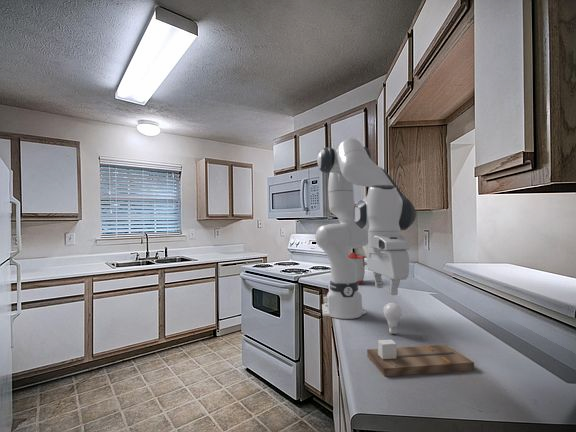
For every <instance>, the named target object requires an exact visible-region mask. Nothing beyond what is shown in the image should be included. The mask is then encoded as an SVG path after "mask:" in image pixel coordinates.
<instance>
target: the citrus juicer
mask: <svg viewBox="0 0 576 432" xmlns="http://www.w3.org/2000/svg"><path fill="white" fill-rule="evenodd" d="M348 257H349V258H351V259H352V260H354V261H355V263H356V265H357V281H358V285H361V284H363V282H364V280H365V279H364V278H365V272H366V271H365V269H366V267H365V266H367V261H365V256H363V255H357V254H356V253H355V252H350V254H349V255H348Z"/></svg>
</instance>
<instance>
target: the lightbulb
mask: <svg viewBox="0 0 576 432" xmlns="http://www.w3.org/2000/svg"><path fill="white" fill-rule="evenodd" d="M382 312H383V313H382V314H383V316H384V318H385V319H386V322H387V325H388V332H389V334H391V335H396V334H398V328H397V327H398V322H399V321H400V320H401V318H402V315H403V312H402V307H401V306H400V305H399V303H396V302H391V301H390V302H388V303H386V304H385V305H384V306H383V308H382Z"/></svg>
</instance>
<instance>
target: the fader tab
mask: <svg viewBox="0 0 576 432" xmlns="http://www.w3.org/2000/svg"><path fill="white" fill-rule="evenodd" d="M396 348H397V343H396V342H395V341H394V340H393V339H379V340H377V349H378V355H379V356H380V357H381V358H382V359H395V358H397V357H396Z"/></svg>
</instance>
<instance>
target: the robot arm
mask: <svg viewBox="0 0 576 432" xmlns="http://www.w3.org/2000/svg"><path fill="white" fill-rule="evenodd" d="M316 159H317V161H316V162H317V166H318V169H319V171H320V172H321V173H323V174H325V173H326V174H329V175H328V182H327V183H328V185H327V191H328V192H327V193H328V194H327V195H328V196H327V197H328V209H329V212H330V213H331V214H332V215H334V216H336V218H337V219H338V222H339V223H329V224H324V225H320V226H319V227H318V228H317V230H316V232H315V242H316V244H317V246H318V247H319V248H320V249H321V250H323V252H324V253H325V254H326V256H327V258H328V260H329V265H330V267H329V268H330V280H329V281H330V282H329V290H328V292H327V294H326V296H323V303H322V304H321V310H322V315H323V316H325V317H326V316H327V317H332V318H336V319H342V320H347V319H348V320H350V319H351V320H352V319H357V318H360V317H361V316H363V315H365V314H367V311H366V310H365V309H363V299H362V298H363V297H362V293H360V292H359V284H358V281H357V265H356V263H355V261H354V260H352V259H351V258H349V257H348V256H349V255H348V254H347V253H348V252H347V250H348V249H349V250H350V249H351V250H352V249H359V248H363V247H366V246H367V245H368V246H367V252H366V263H367V265H366V266H367V267H366V268H367V270H368V271H371V272H372V275H373V278H374V282H375V283H374V287H376V288H377V289H383V288H384V281H383V279H382V276H384V277H386V278H389V282H390V286H389V287H388V293H389V295H391V296H397V295H398V292H399V291H398V290H399V289H398V288H399V286H400V283H401V280H402V281H405V280H408V277H409V274H410V256H409V252H408V251H407V250H410V244H411V243H410V242H409V240H407V239H406V238H405V237H404V236H403V235H402V233H401V231H406V230H408V228H410V227H411V226H412V225H413V224H414V222H415V221H416V217H417V212H416V208H415V206H414V204H413V202H411V200H410V199H409V198H407V197H406V195H404V194H403V192H402V191H401V190H400V188H399V187H398V185H397V184H396V183H395V181H394V180H393V179H392V177H391V176H390V174H389V173H388V172H387V171H386V170H385V169H384V168H382V167H381V166H379V165H377V164H376V163H375V162H374V161H373V160H372V154H371V152H370V149H369V148H368V147H366V146H363V144H362V143H361V142H360V141H359V140H358V139H356V138H353V137H352V138H347V139H344V140H343V141H341V143H340V144H339V145H338V146H334V147H328V146H327V147H323V148H321V149H320V150H319V151H318V155H317V158H316ZM354 185H356V186H362V187H367V188H368V190H367V195H366V196H365V197H364V198H362V199H360V200H359V201H358V202H357V203H355V193H354V189H355V188H354Z"/></svg>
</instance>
